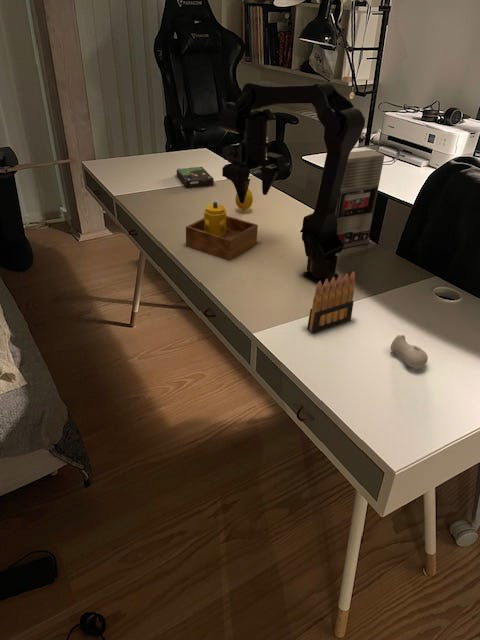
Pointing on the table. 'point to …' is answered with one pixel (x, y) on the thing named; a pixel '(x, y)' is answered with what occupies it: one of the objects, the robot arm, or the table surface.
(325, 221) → the robot arm
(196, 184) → the disk drive
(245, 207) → the lemon
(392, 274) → the table surface
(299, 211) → the table surface
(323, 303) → the ammunition clip
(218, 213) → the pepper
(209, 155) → the table surface
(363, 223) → the labelled white carton
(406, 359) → the pale two-lobed sculpture
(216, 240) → the wooden tray
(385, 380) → the table surface
